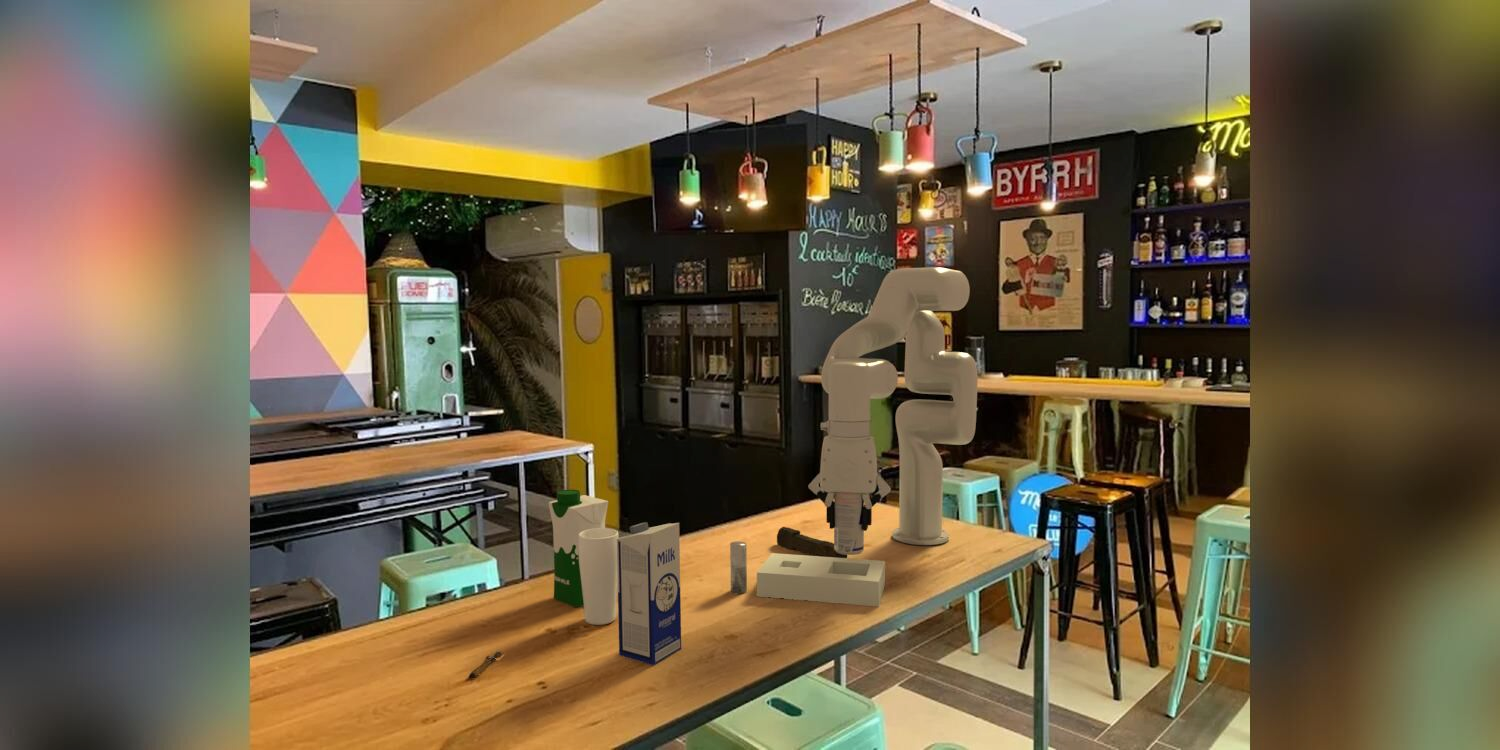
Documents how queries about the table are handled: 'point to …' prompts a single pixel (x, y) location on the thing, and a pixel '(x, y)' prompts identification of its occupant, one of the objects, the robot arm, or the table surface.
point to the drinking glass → (598, 574)
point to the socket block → (822, 579)
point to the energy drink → (848, 523)
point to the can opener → (483, 665)
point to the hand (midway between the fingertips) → (849, 526)
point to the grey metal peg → (738, 567)
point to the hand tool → (806, 543)
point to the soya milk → (572, 540)
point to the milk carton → (649, 592)
